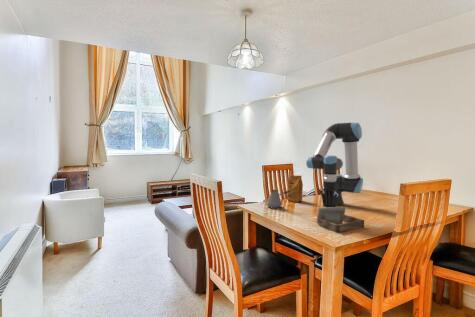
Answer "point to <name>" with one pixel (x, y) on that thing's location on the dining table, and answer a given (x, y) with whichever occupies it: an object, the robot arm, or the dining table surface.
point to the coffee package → (295, 188)
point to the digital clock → (331, 214)
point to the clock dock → (350, 225)
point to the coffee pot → (275, 199)
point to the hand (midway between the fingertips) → (328, 219)
